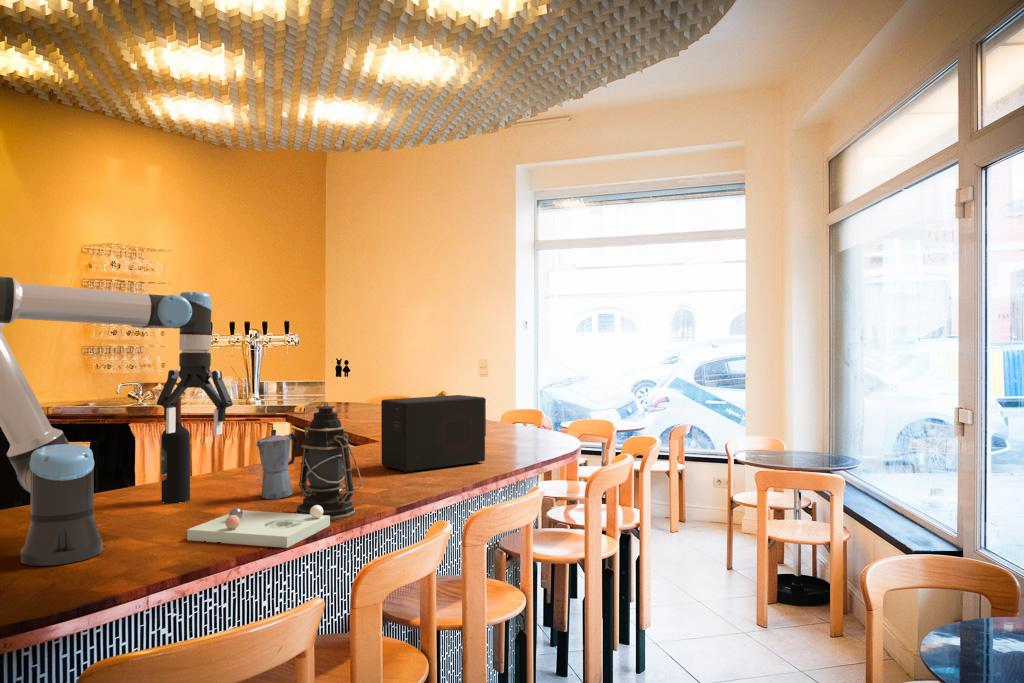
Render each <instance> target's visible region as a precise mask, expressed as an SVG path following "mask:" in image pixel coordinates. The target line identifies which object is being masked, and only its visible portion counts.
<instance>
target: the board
mask: <svg viewBox="0 0 1024 683" xmlns="http://www.w3.org/2000/svg"><path fill="white" fill-rule="evenodd" d="M241 510H242V509H241ZM242 512H243V515H242V518H241V519H240V524H239V526H238V527H237V528H235V529H229V528H228V527H227V526H226V524H225V522H226V519H227V518H228V517H229V513H227V514H224V515H221V516H219V517H217V518H214V519H211V520H209V521H207V522H203V523H201V524H198V525H196V526H193V527H190V528H188V529H187V530H186V532H187V534H186V535H187V537H186V538H187V539H186V540H187V541H193V542H204V541H206V542H205V543H217V542H221V543H220V544H233V545H247V546H259V547H270V548H285V549H288V548H289V547H292V546H293V545H296V544H297V543H299V542H301V541H303V540H305V539H307V538H309V537H311V536H313V535H314V534H317V533H319V532H320V531H322V530H325V529H326V528H328V527H330V526H331V520H330V516H326V515H322V516H321V517H320V518H313V517H312V516H311V514H296V513H294V512H293V513H291V512H277V511H275V512H274V511H261V510H259V511H258V510H244V509H243V510H242Z"/></svg>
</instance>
